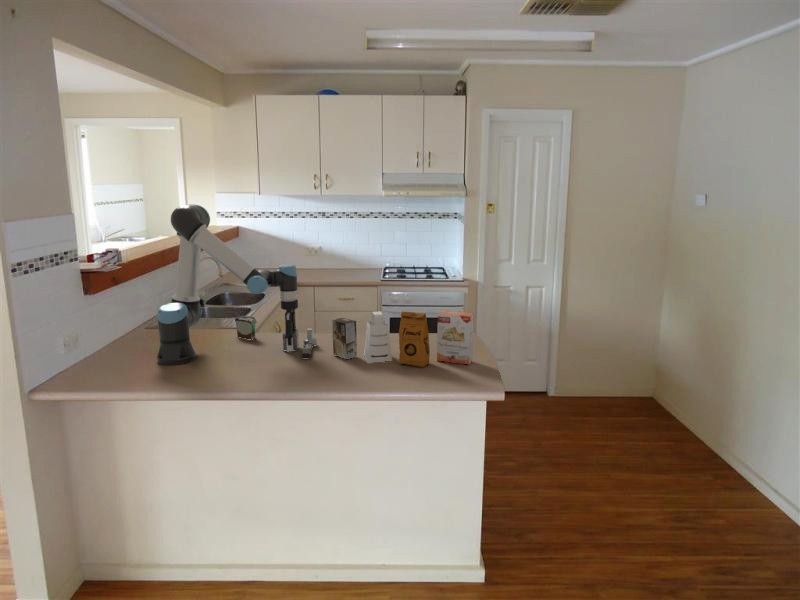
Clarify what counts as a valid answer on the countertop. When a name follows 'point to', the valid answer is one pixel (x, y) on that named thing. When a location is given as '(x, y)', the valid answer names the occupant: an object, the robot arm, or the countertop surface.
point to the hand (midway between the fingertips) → (291, 348)
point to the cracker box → (455, 337)
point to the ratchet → (308, 344)
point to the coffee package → (414, 339)
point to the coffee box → (344, 338)
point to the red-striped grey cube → (295, 340)
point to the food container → (245, 327)
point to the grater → (377, 339)
